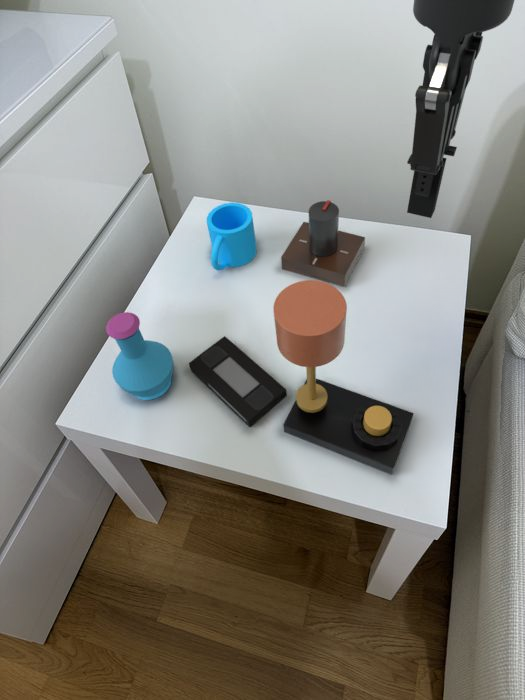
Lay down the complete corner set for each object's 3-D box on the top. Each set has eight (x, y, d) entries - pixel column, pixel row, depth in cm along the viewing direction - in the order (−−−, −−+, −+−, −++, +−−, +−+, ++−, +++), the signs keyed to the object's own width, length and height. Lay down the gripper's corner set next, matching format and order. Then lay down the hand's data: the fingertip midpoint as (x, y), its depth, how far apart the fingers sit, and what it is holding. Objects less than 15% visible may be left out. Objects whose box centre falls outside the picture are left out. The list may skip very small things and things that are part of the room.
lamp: (348, 386, 73) (357, 291, 57) (327, 432, 69) (330, 345, 53) (297, 368, 76) (291, 272, 60) (274, 412, 72) (261, 322, 56)
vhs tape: (249, 427, 75) (248, 421, 74) (190, 370, 82) (188, 363, 81) (286, 396, 78) (286, 389, 76) (226, 343, 85) (224, 335, 83)
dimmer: (331, 259, 90) (332, 222, 83) (304, 252, 91) (303, 215, 84) (341, 241, 92) (343, 203, 85) (315, 234, 94) (315, 196, 87)
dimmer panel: (364, 249, 95) (365, 236, 92) (344, 287, 90) (345, 274, 87) (303, 233, 98) (303, 220, 96) (281, 269, 94) (280, 256, 91)
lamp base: (411, 420, 74) (415, 406, 71) (391, 475, 69) (395, 463, 66) (308, 383, 79) (308, 368, 76) (283, 431, 74) (282, 418, 71)
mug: (225, 233, 101) (218, 199, 94) (263, 242, 98) (259, 207, 92) (197, 276, 94) (188, 242, 88) (237, 286, 92) (231, 252, 85)
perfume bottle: (131, 356, 85) (100, 295, 73) (185, 359, 84) (162, 298, 71) (114, 404, 80) (77, 348, 68) (171, 409, 78) (144, 352, 66)
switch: (393, 418, 70) (395, 410, 69) (385, 440, 68) (386, 433, 67) (368, 409, 71) (369, 401, 70) (359, 430, 70) (360, 423, 68)
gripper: (444, -75, 43) (405, 170, 62) (395, -12, 36) (368, 240, 55) (540, -71, 40) (469, 183, 59) (506, -2, 34) (438, 258, 53)
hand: (420, 211), depth 57 cm, fingers closed
